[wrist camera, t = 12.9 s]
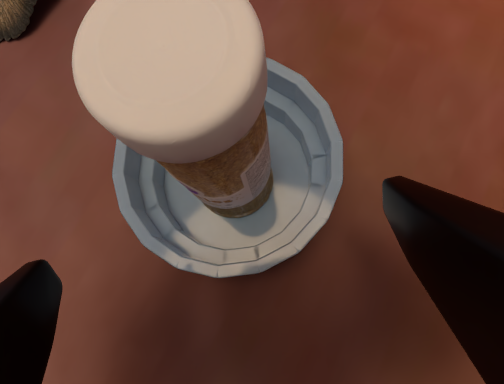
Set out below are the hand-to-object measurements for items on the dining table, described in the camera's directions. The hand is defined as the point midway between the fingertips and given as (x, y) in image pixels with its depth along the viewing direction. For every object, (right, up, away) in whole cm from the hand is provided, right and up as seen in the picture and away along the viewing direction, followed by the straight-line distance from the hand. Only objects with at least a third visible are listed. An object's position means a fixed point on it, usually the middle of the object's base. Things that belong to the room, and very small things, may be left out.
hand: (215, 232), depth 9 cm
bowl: (0, +2, +12) cm, 12 cm away
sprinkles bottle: (0, +2, +12) cm, 12 cm away
